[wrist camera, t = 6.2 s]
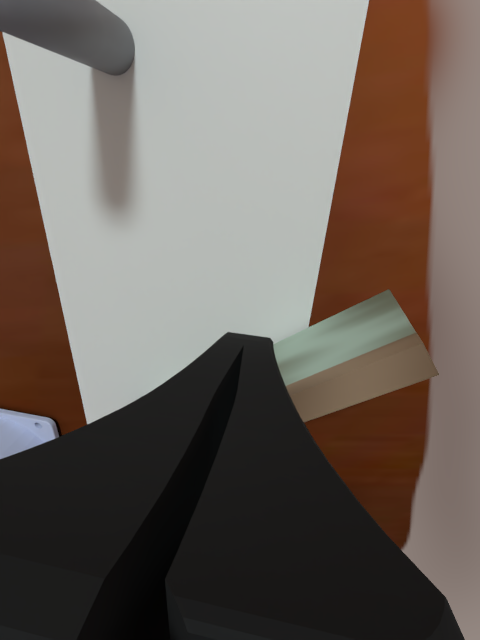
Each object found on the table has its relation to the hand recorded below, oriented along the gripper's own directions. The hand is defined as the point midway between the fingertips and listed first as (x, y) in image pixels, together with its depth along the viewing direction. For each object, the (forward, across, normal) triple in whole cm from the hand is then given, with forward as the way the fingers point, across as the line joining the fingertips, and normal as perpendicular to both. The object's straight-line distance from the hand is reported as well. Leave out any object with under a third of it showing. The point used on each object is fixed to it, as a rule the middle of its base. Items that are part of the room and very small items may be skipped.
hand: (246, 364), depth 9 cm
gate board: (+6, +4, 0) cm, 7 cm away
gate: (+5, +1, +4) cm, 6 cm away
